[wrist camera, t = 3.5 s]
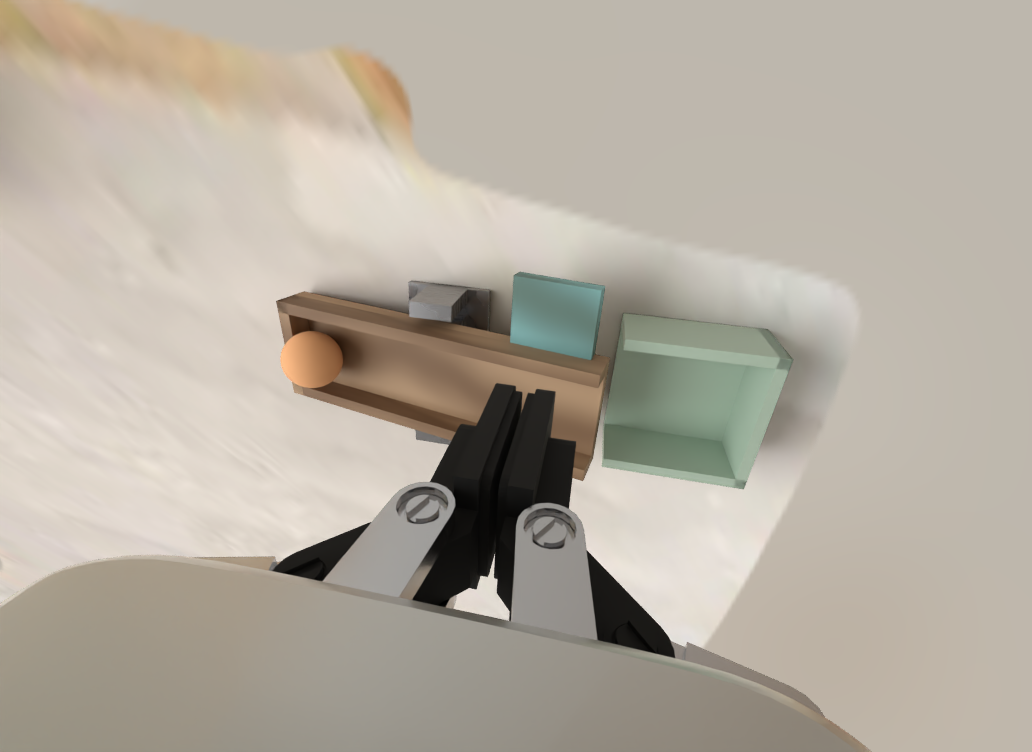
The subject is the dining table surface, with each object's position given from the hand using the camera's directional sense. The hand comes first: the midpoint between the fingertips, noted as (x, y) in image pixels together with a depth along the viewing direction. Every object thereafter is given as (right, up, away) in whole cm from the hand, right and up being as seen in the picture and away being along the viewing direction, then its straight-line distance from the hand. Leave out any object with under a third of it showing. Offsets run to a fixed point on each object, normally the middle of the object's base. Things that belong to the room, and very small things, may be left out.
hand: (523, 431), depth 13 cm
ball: (-13, +3, +15) cm, 20 cm away
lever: (-5, +4, +14) cm, 15 cm away
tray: (+10, +1, +15) cm, 18 cm away
